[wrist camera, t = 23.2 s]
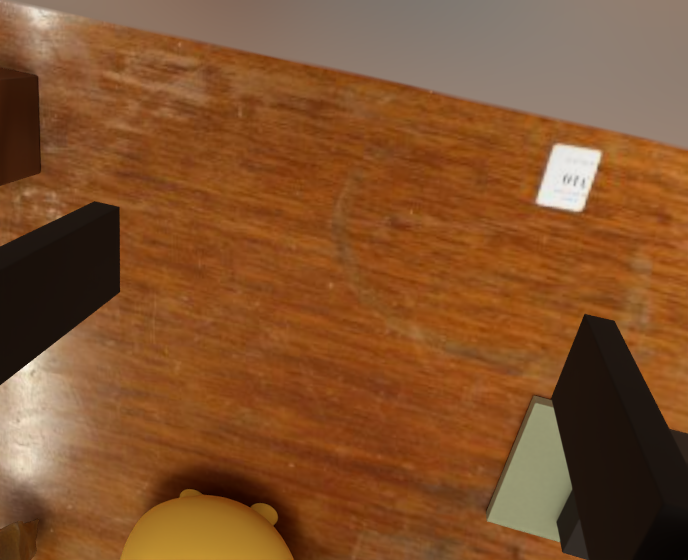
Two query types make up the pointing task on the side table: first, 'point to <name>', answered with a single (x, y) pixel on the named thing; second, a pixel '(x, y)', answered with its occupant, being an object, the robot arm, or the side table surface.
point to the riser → (18, 126)
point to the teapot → (206, 531)
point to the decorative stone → (18, 541)
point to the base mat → (533, 476)
